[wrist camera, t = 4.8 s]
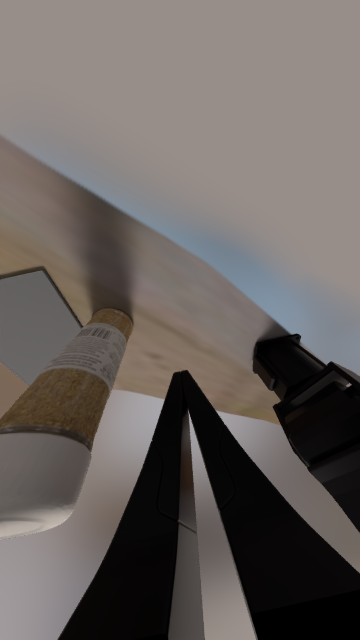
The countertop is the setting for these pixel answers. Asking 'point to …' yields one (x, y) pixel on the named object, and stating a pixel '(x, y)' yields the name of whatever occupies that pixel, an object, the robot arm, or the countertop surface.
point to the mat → (33, 323)
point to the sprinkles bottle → (58, 427)
